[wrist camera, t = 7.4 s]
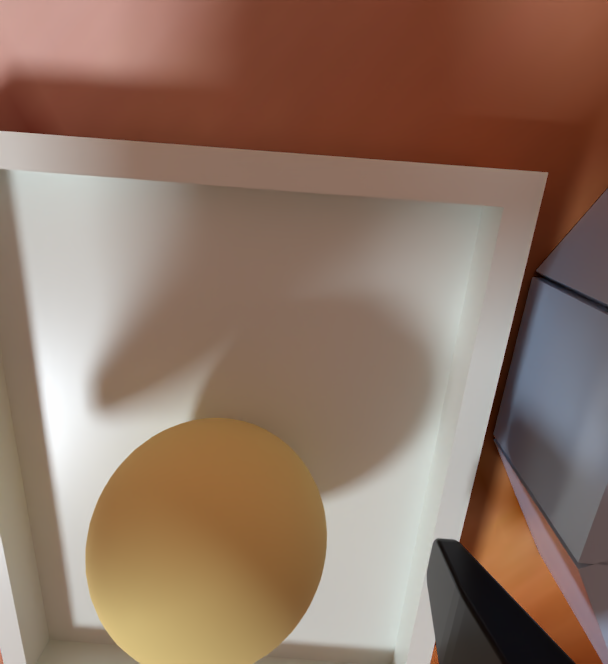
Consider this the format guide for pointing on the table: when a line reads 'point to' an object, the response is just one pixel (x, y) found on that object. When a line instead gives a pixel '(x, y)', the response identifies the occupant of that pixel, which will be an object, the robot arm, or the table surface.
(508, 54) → the table surface
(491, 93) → the table surface
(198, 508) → the ball
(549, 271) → the bowl
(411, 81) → the table surface
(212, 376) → the tray
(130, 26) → the table surface
